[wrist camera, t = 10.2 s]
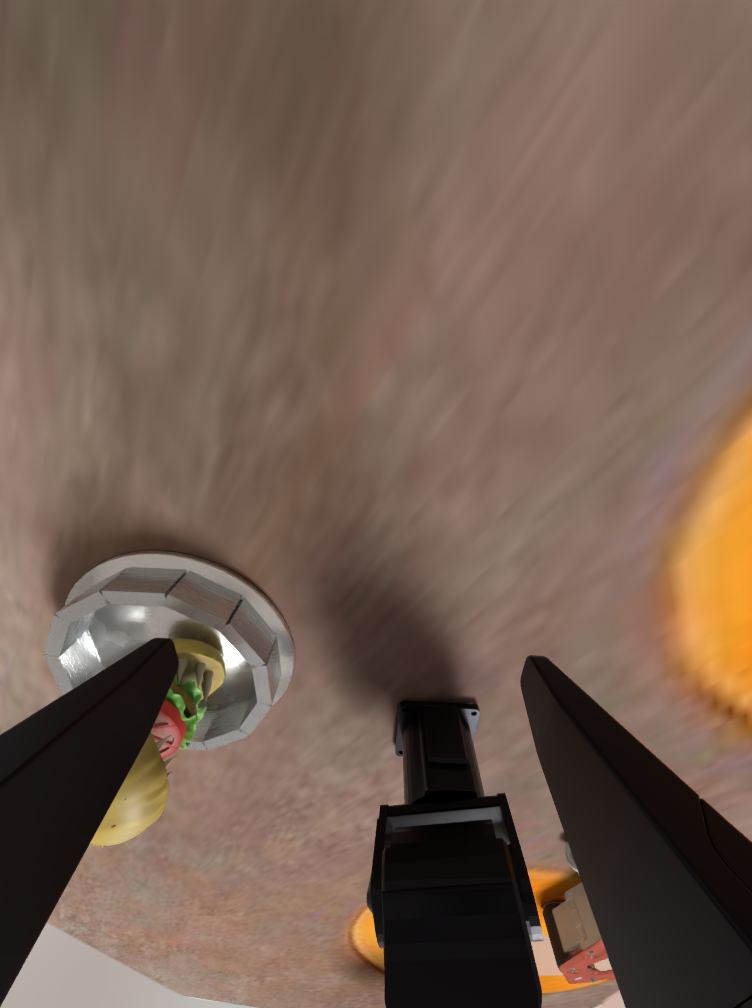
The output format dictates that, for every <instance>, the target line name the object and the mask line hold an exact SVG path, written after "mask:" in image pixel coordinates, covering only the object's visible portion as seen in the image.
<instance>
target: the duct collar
mask: <svg viewBox="0 0 752 1008" xmlns="http://www.w3.org/2000/svg"><path fill="white" fill-rule="evenodd" d="M153 638H170V639H178V638H183V639H194V640H198V641H202V642H205V643H207V644H210V645H211V646H213V647H214V648H215V649H217V650H218V651H219V652H220V654H221V655H222V657H223V659H224V662H225V671H226V676H225V678H224V681H223V684H222V685H221V686H220V687H219V688H217V689H216V690H215V691H214V692H213V693H211V694H210V695H209V696H208V698H207V701H206V704H205V702H204V698H203V699H202V700H200V702H199V704H198V705H203V706H206V707H207V709H206V710H205V712H204V716H203V717H202V719H201V720H200V721H199V722H198V723H196V731H195V734H194V736H193V739H192V740H191V741H186V742H188V743H190V745H189V746H188V747H186V748H185V749H190V750H207V749H208V750H211V749H213V748H216V747H219V746H222V745H225V744H228V743H231V742H234V741H237V740H240V739H242V738H245V737H248V736H249V735H251V733H252V732H253V731H254V729H255V728H256V727H257V725H258V724H259V723H260V721H261V720H262V719H263V717H264V716H265V715H266V713H267V712H268V711H269V709H270V708H271V706H273V705H274V704H275V703H276V702H277V701H278V700H279V699H280V698H281V696H282V695H283V694H284V692H285V690H286V689H287V687H288V685H289V682H290V679H291V677H292V673H293V669H294V664H295V648H294V643H293V638H292V635H291V633H290V630H289V627H288V625H287V624H286V622H285V620H284V618H283V616H282V615H281V613H280V612H279V611H278V609H277V608H276V606H275V605H274V604H273V603H272V602H271V601H270V600H269V599H268V597H267V596H266V595H265V594H264V593H262V592H261V591H260V590H259V589H258V588H257V587H256V586H254V585H253V584H252V583H250V582H249V581H247V580H246V579H244V578H243V577H242V576H240V575H238V574H237V573H235V572H233V571H231V570H229V569H228V568H226V567H223V566H221V565H219V564H216V563H214V562H212V561H209V560H206V559H203V558H200V557H197V556H193V555H188V554H184V553H179V552H171V551H160V550H159V551H138V552H131V553H126V554H123V555H119V556H115V557H113V558H111V559H109V560H106V561H104V562H102V563H101V564H99V565H97V566H96V567H94V568H93V569H91V570H90V571H89V572H87V573H86V574H85V575H84V576H83V577H82V578H81V579H80V580H79V581H77V582H76V584H75V585H74V587H73V588H72V590H71V591H70V593H69V595H68V598H67V600H66V602H65V606H64V607H63V608H62V609H61V610H59V611H58V612H57V613H56V614H55V615H54V617H53V620H52V624H51V627H50V631H49V634H48V637H47V641H46V644H45V648H44V651H43V653H45V654H44V658H45V660H46V662H47V664H48V666H49V668H50V670H51V672H52V674H53V676H54V678H55V680H56V682H57V684H58V686H59V688H60V690H61V692H62V694H66V693H67V692H69V691H71V690H72V689H74V688H75V687H77V686H78V685H80V684H82V683H83V682H85V681H86V680H88V679H90V678H91V677H93V676H94V675H96V674H97V673H99V672H101V671H102V670H104V669H105V668H107V667H109V666H110V665H112V664H113V663H115V662H116V661H118V660H120V659H121V658H123V657H124V656H126V655H128V654H129V653H131V652H132V651H134V650H135V649H137V648H139V647H140V646H142V645H143V644H145V643H147V642H148V641H150V640H151V639H153ZM178 749H183V748H178Z"/></svg>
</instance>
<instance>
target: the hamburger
mask: <svg viewBox="0 0 752 1008" xmlns="http://www.w3.org/2000/svg"><path fill="white" fill-rule="evenodd" d="M172 640H173V642H174V645H175V648H176V652H177V656H178V659H179V667H178V671H177V673H176V676H175V678H174V680H173V683H172V685H171V687H170V689H169V692H168V694H167V696H166V699H165V701H164V703H163V705H162V708H161V710H160V712H159V715H158V717H157V719H156V721H155V724H154V726H153V728H152V730H151V732H150V734H149V736H148V738H147V740H146V742H145V744H144V746H143V748H142V749H141V751H140V753H139V755H138V757H137V759H136V760H135V762H134V764H133V766H132V768H131V769H130V771H129V773H128V775H127V777H126V779H125V780H124V782H123V784H122V786H121V788H120V790H119V791H118V793H117V795H116V797H115V799H114V800H113V802H112V804H111V806H110V808H109V810H108V811H107V813H106V815H105V817H104V819H103V821H102V822H101V824H100V826H99V828H98V830H97V831H96V833H95V835H94V837H93V839H92V841H91V842H90V844H89V845H94V846H100V847H101V848H103V847H104V846H108V845H115V844H119V843H122V842H125V841H127V840H129V839H131V838H133V837H135V836H137V835H138V834H140V833H141V832H142V831H144V830H145V829H146V828H147V827H148V826H150V825H151V824H152V823H154V822H155V821H156V820H157V819H158V818H159V816H160V815H161V814H162V812H163V810H164V808H165V802H166V799H167V791H168V780H167V778H168V776H169V775H170V774H171V772H172V771H171V772H170V773H168V774H167V771H166V768H167V767H168V766H169V764H170V763H171V762H172V760H173V759H174V758H175V757H176V756H174V757H172V758H171V759H169V760H167V761H165V762H164V761H163V759H162V758H165V757H167V756H169V755H171V754H173V753H174V752H175V751H176V750H177V749H178V748H183V749H185V748H186V747H188V746H189V745H190V743H188V742H186V741H191V740H192V739H193V736H194V734H195V731H196V723H198V722H199V721H200V720H201V719H202V717H203V716H204V712H205V710H206V709H207V707H206V706H203V705H198V704H199V702H200V700H202V699H203V698H204V702H205V704H206V701H207V698H208V696H209V695H210V694H211V693H213V692H214V691H215V690H216V689H217V688H219V687H220V686H221V685H222V684H223V681H224V678H225V676H226V671H225V662H224V659H223V657H222V655H221V654H220V652H219V651H218V650H217V649H215V648H214V647H213V646H211V645H210V644H207V643H205V642H202V641H198V640H194V639H183V638H178V639H172Z"/></svg>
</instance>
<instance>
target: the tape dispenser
mask: <svg viewBox="0 0 752 1008" xmlns="http://www.w3.org/2000/svg"><path fill="white" fill-rule="evenodd" d="M565 854H566V857H567V860H568V863H569V864H570V866H571V867H572V868H573V869H574V870H575V871H576V872H578V870H577V867H576V864H575V861H574V858H573V855H572V852H571V849H570V847H569V844H568V842H567V844H566V847H565ZM578 874H579V872H578ZM579 876H580V875H579ZM564 895H565V899H566V900H565V901H564V902H563V903H561V902H550V903H547V904H545V905H544V906H543V909H544V910H543V916H544V920H545V923H546V927H547V931H548V934H549V938H550V941H551V945H552V948H553V952H554V955H555V959H556V962H557V966H558V968H559V970H560V971H561V972H562V973H563V975H564V976H565V978H566V980H567V981H568V983H570V984H576V983H585V982H596V981H599V980H604V979H607V980H612V979H616V978H615V975H614V973H613V970H607V971H598V970H597V969H596V968H595V966H594V963H596V962H598V961H601V960H604V959H607V958H608V955H607V953H606V950H605V947H604V944H603V941H602V938H601V935H600V933H599V930H598V927H597V924H596V921H595V918H594V915H593V912H592V910H591V907H590V904H589V901H588V898H587V895H586V892H585V890H584V887H583V884H582V882H581V883H579V884H578V885H576V886H574V887H572V888H571V889H569V890H567V891H566V892H565V893H564Z"/></svg>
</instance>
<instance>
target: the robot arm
mask: <svg viewBox="0 0 752 1008" xmlns="http://www.w3.org/2000/svg"><path fill="white" fill-rule="evenodd" d="M178 667H179V659H178V656H177V652H176V648H175V645H174V642H173V640H172V639H170V638H153V639H151V640H150V641H148V642H147V643H145V644H143V645H142V646H140V647H139V648H137V649H135V650H134V651H132V652H131V653H129V654H128V655H126V656H124V657H123V658H121V659H120V660H118V661H116V662H115V663H113V664H112V665H110V666H109V667H107V668H105V669H104V670H102V671H101V672H99V673H97V674H96V675H94V676H93V677H91V678H90V679H88V680H86V681H85V682H83V683H82V684H80V685H78V686H77V687H75V688H74V689H72V690H71V691H69V692H67V693H66V694H64V695H63V696H61V697H60V698H58V699H56V700H55V701H53V702H52V703H50V704H48V705H47V706H45V707H44V708H42V709H41V710H39V711H37V712H36V713H34V714H33V715H31V716H29V717H28V718H26V719H25V720H23V721H22V722H20V723H18V724H17V725H15V726H14V727H12V728H10V729H9V730H7V731H6V732H4V733H3V734H1V735H0V1006H1V1004H2V1003H3V1001H4V999H5V997H6V995H7V994H8V992H9V990H10V988H11V986H12V984H13V983H14V981H15V979H16V977H17V975H18V974H19V972H20V970H21V968H22V966H23V964H24V963H25V960H26V958H27V957H28V955H29V954H30V952H31V950H32V948H33V946H34V944H35V942H36V941H37V939H38V937H39V935H40V933H41V931H42V930H43V928H44V926H45V924H46V923H47V921H48V919H49V917H50V915H51V913H52V912H53V910H54V908H55V906H56V904H57V903H58V901H59V899H60V897H61V895H62V893H63V892H64V890H65V888H66V886H67V884H68V882H69V881H70V879H71V877H72V875H73V873H74V872H75V870H76V868H77V866H78V864H79V862H80V861H81V859H82V857H83V855H84V853H85V852H86V850H87V848H88V846H89V844H90V842H91V841H92V839H93V837H94V835H95V833H96V831H97V830H98V828H99V826H100V824H101V822H102V821H103V819H104V817H105V815H106V813H107V811H108V810H109V808H110V806H111V804H112V802H113V800H114V799H115V797H116V795H117V793H118V791H119V790H120V788H121V786H122V784H123V782H124V780H125V779H126V777H127V775H128V773H129V771H130V769H131V768H132V766H133V764H134V762H135V760H136V759H137V757H138V755H139V753H140V751H141V749H142V748H143V746H144V744H145V742H146V740H147V738H148V736H149V734H150V732H151V730H152V728H153V726H154V724H155V721H156V719H157V717H158V715H159V712H160V710H161V708H162V705H163V703H164V701H165V699H166V696H167V694H168V692H169V689H170V687H171V685H172V683H173V680H174V678H175V676H176V673H177V671H178ZM520 682H521V690H522V694H523V698H524V702H525V706H526V710H527V714H528V718H529V722H530V726H531V731H532V735H533V739H534V743H535V747H536V750H537V754H538V757H539V760H540V763H541V766H542V769H543V772H544V775H545V778H546V781H547V784H548V786H549V789H550V792H551V795H552V798H553V801H554V804H555V807H556V809H557V812H558V815H559V818H560V821H561V824H562V827H563V829H564V832H565V835H566V838H567V841H568V844H569V847H570V849H571V852H572V855H573V858H574V861H575V864H576V867H577V870H578V872H579V875H580V878H581V881H582V884H583V887H584V890H585V892H586V895H587V898H588V901H589V904H590V907H591V910H592V912H593V915H594V918H595V921H596V924H597V927H598V930H599V933H600V935H601V938H602V941H603V944H604V947H605V950H606V953H607V955H608V958H609V961H610V964H611V967H612V970H613V973H614V975H615V978H616V981H617V984H618V987H619V990H620V993H621V996H622V998H623V1001H624V1004H625V1007H626V1008H752V842H751V841H750V840H749V839H748V838H747V837H745V836H744V835H743V834H742V833H741V832H740V831H739V830H738V829H736V828H735V827H734V826H733V825H732V824H731V823H730V822H728V821H727V820H726V819H725V818H724V817H723V816H722V815H721V814H720V813H718V812H717V811H716V810H715V809H714V808H713V807H712V806H711V805H710V804H708V803H707V802H706V801H705V800H704V799H700V797H699V795H698V794H697V793H696V792H695V791H694V790H693V789H692V788H691V787H689V786H688V785H687V784H686V783H685V782H684V781H683V780H682V779H681V778H679V777H678V776H677V775H676V774H675V773H674V772H673V771H672V770H671V769H670V768H668V767H667V766H666V765H665V764H664V763H663V762H662V761H661V760H660V759H658V758H657V757H656V756H655V755H654V754H653V753H652V752H651V751H650V750H649V749H647V748H646V747H645V746H644V745H643V744H642V743H641V742H640V741H639V740H637V739H636V738H635V737H634V736H633V735H632V734H631V733H630V732H629V731H627V730H626V729H625V728H624V727H623V726H622V725H621V724H620V723H619V722H618V721H616V720H615V719H614V718H613V717H612V716H611V715H610V714H609V713H608V712H606V711H605V710H604V709H603V708H602V707H601V706H600V705H599V704H598V703H596V702H595V701H594V700H593V699H592V698H591V697H590V696H589V695H588V694H587V693H585V692H584V691H583V690H582V689H581V688H580V687H579V686H578V685H577V684H575V683H574V682H573V681H572V680H571V679H570V678H569V677H568V676H567V675H566V674H564V673H563V672H562V671H561V670H560V669H559V668H558V667H557V666H556V665H554V664H553V663H552V662H551V661H550V660H549V659H548V658H546V657H544V656H534V655H530V656H528V657H527V658H526V661H525V665H524V668H523V672H522V675H521V681H520ZM479 716H480V711H479V707H478V706H477V705H470V704H450V703H430V702H409V701H403V702H401V703H400V704H399V711H398V723H397V734H396V746H395V752H396V754H397V755H398V756H403V772H404V799H405V804H404V805H393V806H389V805H388V804H387V805H380V813H379V819H377V827H376V836H375V846H374V855H373V864H372V873H371V878H370V882H369V887H368V891H367V906H368V908H369V909H370V911H371V912H372V914H373V918H374V925H375V932H376V937H377V942H378V945H379V947H380V948H384V967H385V1005H386V1008H541V1004H542V990H541V984H540V980H539V976H538V971H537V967H536V963H535V959H534V954H533V950H532V946H531V941H533V942H534V941H543V934H542V929H541V925H540V920H539V916H538V911H537V907H536V903H535V899H534V895H533V891H532V887H531V883H530V879H529V876H528V872H527V868H526V865H525V861H524V857H523V854H522V850H521V847H520V844H519V840H518V837H517V833H516V830H515V826H514V823H513V819H512V816H511V812H510V809H509V805H508V802H507V798H506V795H505V793H499V794H497V795H496V796H486V797H485V796H484V791H483V786H482V782H481V777H480V773H479V768H478V763H477V759H476V754H475V750H474V745H473V743H474V738H475V734H476V729H477V725H478V721H479Z"/></svg>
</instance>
